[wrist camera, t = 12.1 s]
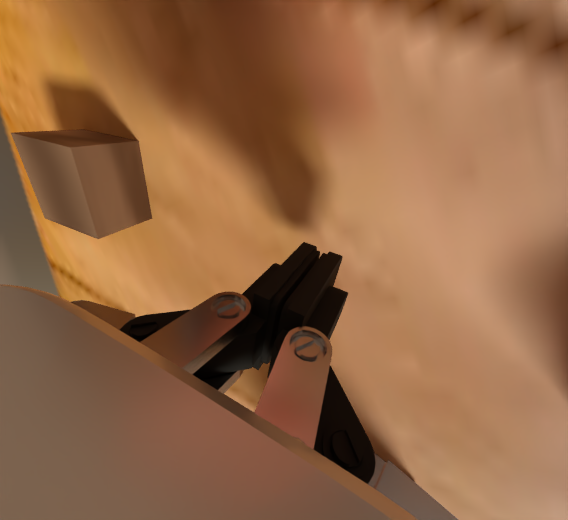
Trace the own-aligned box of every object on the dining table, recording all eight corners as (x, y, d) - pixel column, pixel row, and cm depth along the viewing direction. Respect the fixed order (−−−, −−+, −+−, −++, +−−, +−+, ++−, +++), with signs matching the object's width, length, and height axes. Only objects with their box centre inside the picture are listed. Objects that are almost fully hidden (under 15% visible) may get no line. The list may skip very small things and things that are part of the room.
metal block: (140, 140, 16) (70, 147, 13) (153, 217, 19) (98, 239, 15) (85, 129, 18) (10, 132, 14) (104, 201, 20) (45, 218, 17)
